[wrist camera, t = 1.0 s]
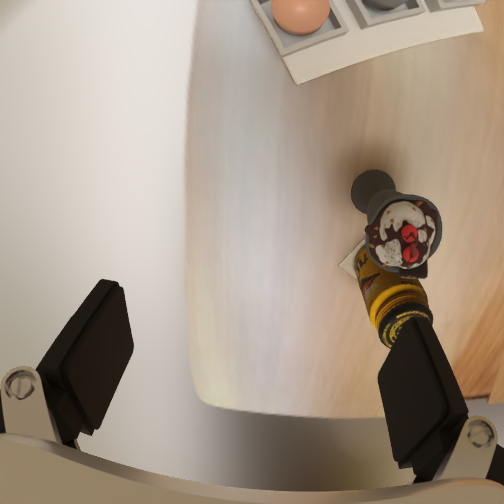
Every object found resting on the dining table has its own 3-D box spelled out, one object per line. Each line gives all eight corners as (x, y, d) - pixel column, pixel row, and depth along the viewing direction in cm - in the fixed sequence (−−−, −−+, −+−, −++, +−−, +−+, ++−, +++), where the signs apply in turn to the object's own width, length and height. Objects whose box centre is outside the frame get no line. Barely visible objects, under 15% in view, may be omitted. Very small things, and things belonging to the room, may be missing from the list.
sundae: (352, 153, 30) (404, 209, 17) (410, 172, 30) (485, 236, 17) (334, 213, 33) (365, 301, 20) (390, 227, 33) (443, 315, 20)
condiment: (337, 264, 36) (355, 338, 26) (388, 211, 32) (430, 271, 22) (378, 295, 38) (403, 368, 27) (426, 248, 34) (470, 312, 24)
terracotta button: (310, -15, 19) (313, -26, 17) (333, 26, 21) (339, 19, 18) (263, 2, 21) (261, -8, 18) (286, 43, 22) (287, 38, 20)
